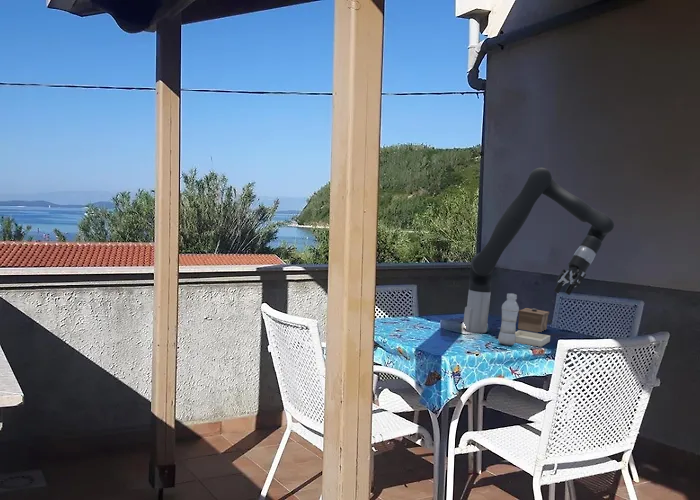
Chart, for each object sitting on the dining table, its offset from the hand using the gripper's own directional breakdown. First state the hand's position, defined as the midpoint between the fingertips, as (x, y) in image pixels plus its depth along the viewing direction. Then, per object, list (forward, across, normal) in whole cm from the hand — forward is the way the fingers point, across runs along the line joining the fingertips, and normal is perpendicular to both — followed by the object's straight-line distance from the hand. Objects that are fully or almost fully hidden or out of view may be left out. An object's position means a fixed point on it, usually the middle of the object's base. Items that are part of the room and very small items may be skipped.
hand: (561, 292), depth 270 cm
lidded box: (+12, -34, +15) cm, 39 cm away
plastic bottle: (+31, +2, -9) cm, 32 cm away
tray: (+22, -6, +3) cm, 24 cm away
